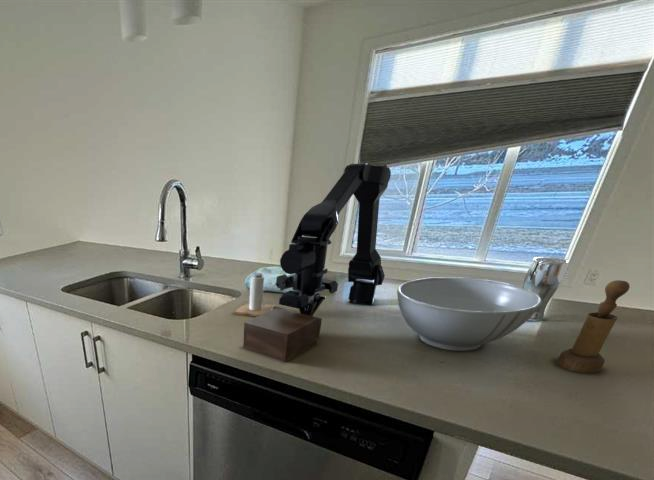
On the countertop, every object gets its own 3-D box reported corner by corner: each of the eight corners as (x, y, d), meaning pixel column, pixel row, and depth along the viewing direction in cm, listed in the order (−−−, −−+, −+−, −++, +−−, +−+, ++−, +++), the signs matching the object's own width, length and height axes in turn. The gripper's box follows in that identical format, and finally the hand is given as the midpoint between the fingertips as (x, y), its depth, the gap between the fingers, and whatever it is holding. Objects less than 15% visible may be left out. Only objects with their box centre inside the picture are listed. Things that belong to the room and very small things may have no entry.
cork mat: (275, 307, 129) (275, 305, 129) (265, 317, 122) (265, 315, 122) (245, 304, 134) (245, 301, 134) (234, 313, 127) (234, 311, 127)
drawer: (283, 325, 113) (285, 307, 111) (321, 335, 105) (324, 316, 103) (253, 340, 106) (254, 322, 104) (291, 352, 98) (294, 332, 96)
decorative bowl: (538, 371, 83) (563, 316, 77) (390, 357, 94) (401, 307, 88) (503, 325, 104) (520, 278, 98) (384, 317, 115) (394, 275, 109)
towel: (308, 279, 153) (310, 266, 150) (294, 296, 137) (296, 281, 135) (261, 276, 161) (262, 263, 159) (243, 291, 146) (243, 277, 144)
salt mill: (264, 308, 127) (266, 274, 121) (253, 311, 126) (255, 276, 120) (257, 305, 130) (259, 271, 125) (246, 307, 129) (248, 273, 124)
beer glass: (537, 312, 109) (561, 256, 101) (550, 322, 103) (576, 263, 96) (506, 312, 111) (527, 256, 104) (517, 321, 105) (540, 263, 98)
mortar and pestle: (547, 360, 87) (585, 278, 78) (576, 357, 87) (617, 274, 78) (579, 375, 81) (624, 287, 72) (609, 371, 81) (658, 283, 72)
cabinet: (274, 332, 112) (276, 307, 109) (315, 344, 103) (319, 318, 100) (243, 347, 105) (244, 322, 102) (285, 361, 96) (287, 334, 93)
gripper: (304, 254, 112) (298, 308, 120) (263, 269, 102) (259, 326, 110) (343, 259, 104) (333, 316, 112) (303, 275, 94) (295, 336, 102)
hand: (305, 323), depth 109 cm, fingers closed
